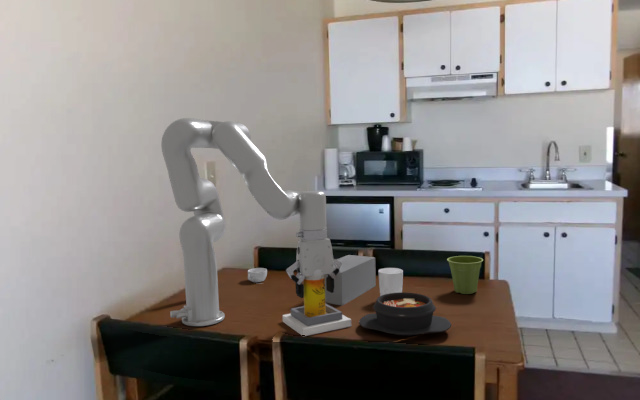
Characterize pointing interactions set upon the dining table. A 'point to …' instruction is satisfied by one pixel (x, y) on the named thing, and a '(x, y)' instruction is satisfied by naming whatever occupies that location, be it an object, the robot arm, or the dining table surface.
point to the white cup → (390, 280)
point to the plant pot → (465, 273)
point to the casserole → (404, 315)
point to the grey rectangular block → (352, 279)
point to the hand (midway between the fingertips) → (315, 294)
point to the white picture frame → (316, 321)
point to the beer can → (314, 294)
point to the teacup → (257, 274)
